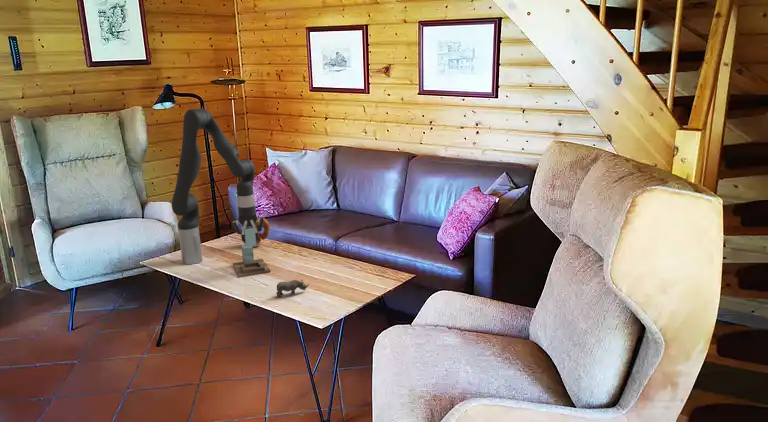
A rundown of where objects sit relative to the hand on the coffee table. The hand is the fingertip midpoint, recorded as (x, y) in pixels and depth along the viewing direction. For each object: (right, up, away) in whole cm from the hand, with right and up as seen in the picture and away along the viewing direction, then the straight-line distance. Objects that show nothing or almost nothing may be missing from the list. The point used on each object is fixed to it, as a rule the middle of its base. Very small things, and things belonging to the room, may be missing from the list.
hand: (250, 241), depth 258 cm
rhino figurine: (+23, -21, -24) cm, 39 cm away
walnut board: (-1, -13, +7) cm, 15 cm away
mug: (-5, -5, +39) cm, 40 cm away
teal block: (0, -2, 0) cm, 2 cm away
